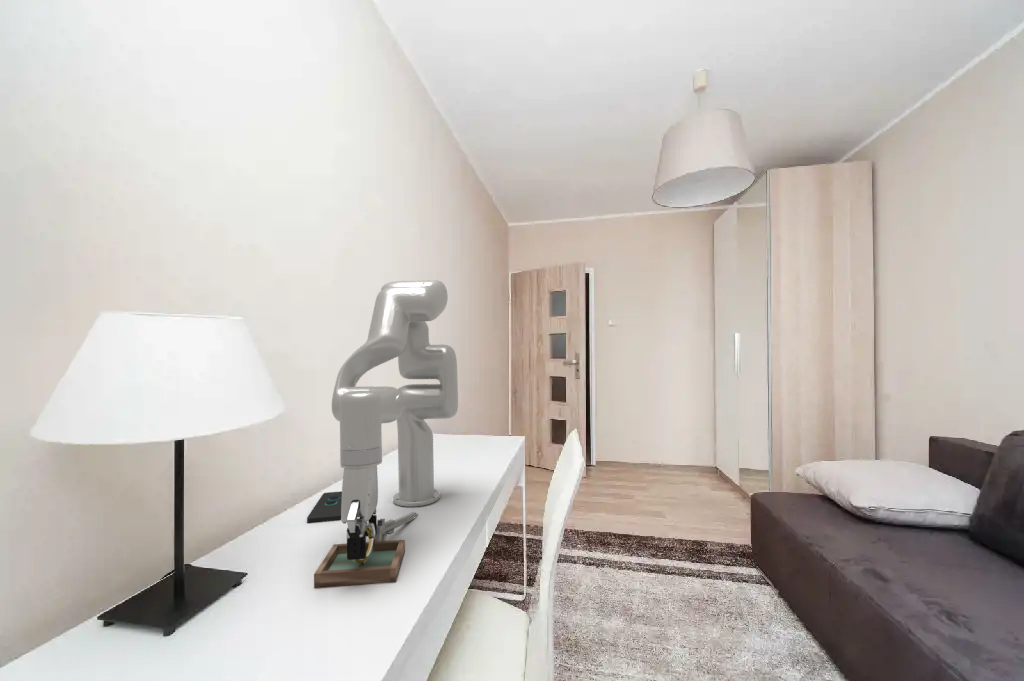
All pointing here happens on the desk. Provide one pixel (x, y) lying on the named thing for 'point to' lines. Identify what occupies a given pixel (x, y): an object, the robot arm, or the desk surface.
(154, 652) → the desk surface
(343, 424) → the robot arm
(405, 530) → the desk surface
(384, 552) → the jewellery tray
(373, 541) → the ring
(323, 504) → the smart home device
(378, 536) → the caliper
